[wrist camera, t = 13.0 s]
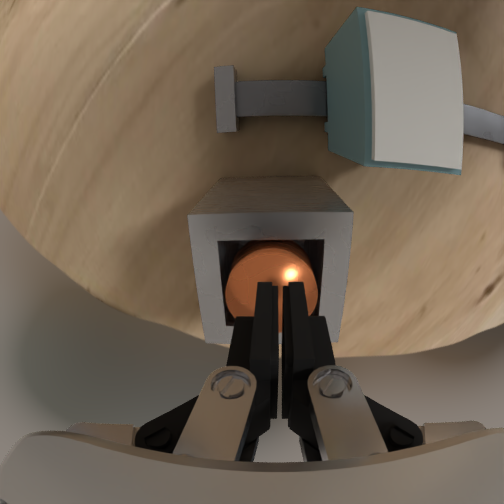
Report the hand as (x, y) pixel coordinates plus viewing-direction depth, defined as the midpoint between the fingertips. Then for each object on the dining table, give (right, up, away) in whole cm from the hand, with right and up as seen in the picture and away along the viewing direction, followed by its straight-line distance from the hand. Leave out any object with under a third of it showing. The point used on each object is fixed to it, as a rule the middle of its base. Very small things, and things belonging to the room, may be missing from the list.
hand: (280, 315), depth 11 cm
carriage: (+6, +13, +7) cm, 16 cm away
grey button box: (0, +4, +11) cm, 12 cm away
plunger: (0, +4, +9) cm, 10 cm away
